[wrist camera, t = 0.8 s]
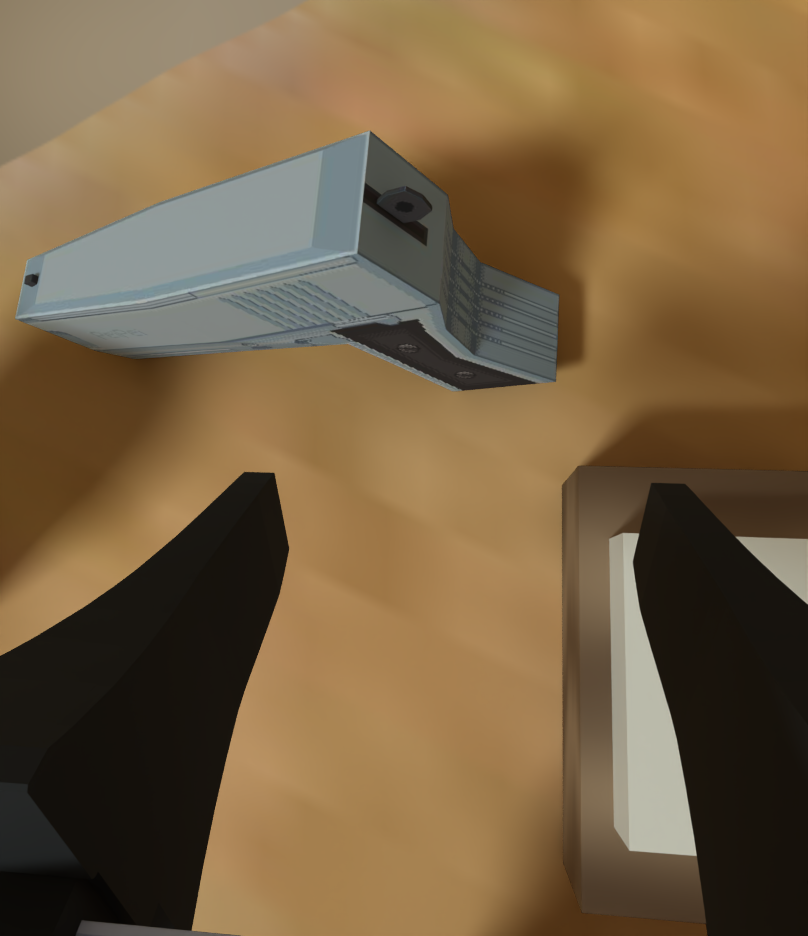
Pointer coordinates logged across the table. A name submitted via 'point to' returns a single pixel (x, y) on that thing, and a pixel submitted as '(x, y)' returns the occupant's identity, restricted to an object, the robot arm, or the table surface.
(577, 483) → the brown flat block
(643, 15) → the table surface
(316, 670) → the table surface
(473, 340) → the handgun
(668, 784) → the cream flat block
